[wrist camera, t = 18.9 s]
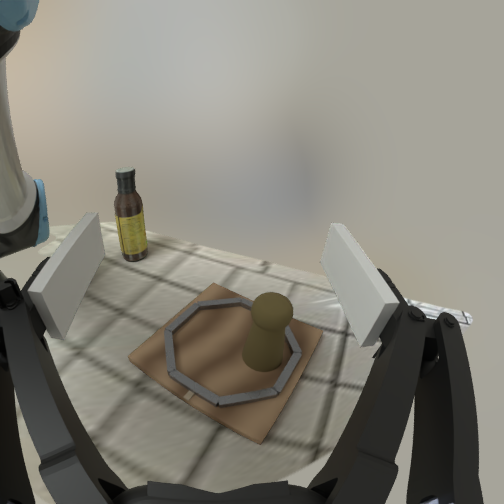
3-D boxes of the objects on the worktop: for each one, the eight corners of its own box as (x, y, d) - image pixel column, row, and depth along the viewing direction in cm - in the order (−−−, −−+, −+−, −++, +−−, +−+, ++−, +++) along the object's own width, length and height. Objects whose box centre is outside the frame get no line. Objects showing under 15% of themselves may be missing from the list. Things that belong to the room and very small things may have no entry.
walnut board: (129, 360, 35) (127, 355, 34) (213, 287, 52) (213, 281, 51) (260, 444, 27) (261, 441, 26) (321, 335, 44) (323, 330, 43)
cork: (289, 352, 39) (307, 298, 33) (269, 379, 34) (284, 327, 29) (256, 333, 41) (265, 279, 36) (233, 358, 37) (238, 303, 31)
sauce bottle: (153, 253, 59) (148, 167, 49) (134, 266, 54) (124, 175, 44) (135, 244, 61) (128, 163, 51) (116, 256, 57) (105, 171, 46)
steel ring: (139, 355, 35) (138, 351, 34) (215, 288, 50) (215, 284, 49) (257, 429, 28) (258, 426, 27) (313, 333, 43) (315, 329, 42)
